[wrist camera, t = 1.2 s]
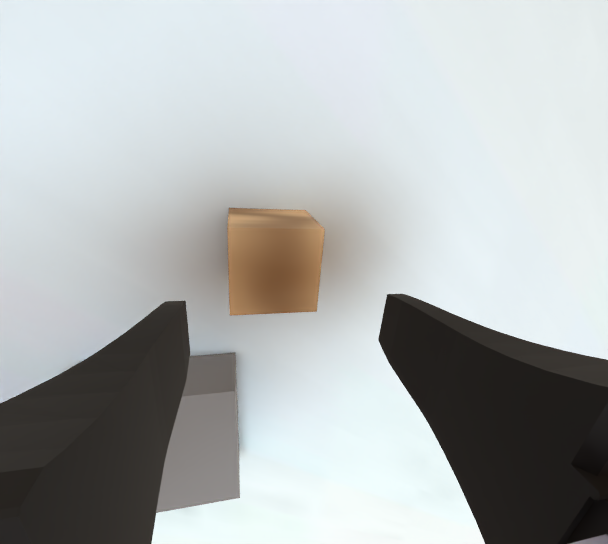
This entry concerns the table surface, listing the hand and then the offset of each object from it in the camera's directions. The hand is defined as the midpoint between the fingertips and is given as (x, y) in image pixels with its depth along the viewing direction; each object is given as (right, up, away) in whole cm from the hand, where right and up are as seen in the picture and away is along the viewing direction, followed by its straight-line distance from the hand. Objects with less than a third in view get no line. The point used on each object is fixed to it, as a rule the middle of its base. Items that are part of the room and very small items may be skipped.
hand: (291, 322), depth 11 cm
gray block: (-10, -9, +12) cm, 17 cm away
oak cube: (-2, +3, +8) cm, 9 cm away
